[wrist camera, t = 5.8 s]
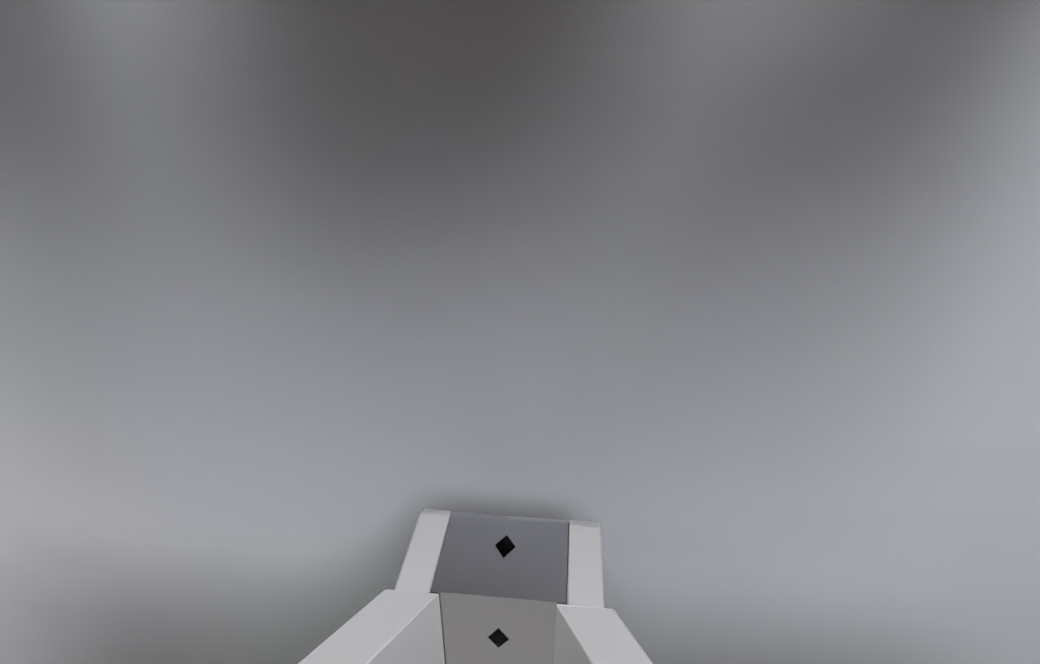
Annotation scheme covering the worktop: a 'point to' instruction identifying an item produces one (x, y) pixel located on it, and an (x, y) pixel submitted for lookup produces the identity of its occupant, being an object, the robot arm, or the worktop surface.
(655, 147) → the worktop surface
